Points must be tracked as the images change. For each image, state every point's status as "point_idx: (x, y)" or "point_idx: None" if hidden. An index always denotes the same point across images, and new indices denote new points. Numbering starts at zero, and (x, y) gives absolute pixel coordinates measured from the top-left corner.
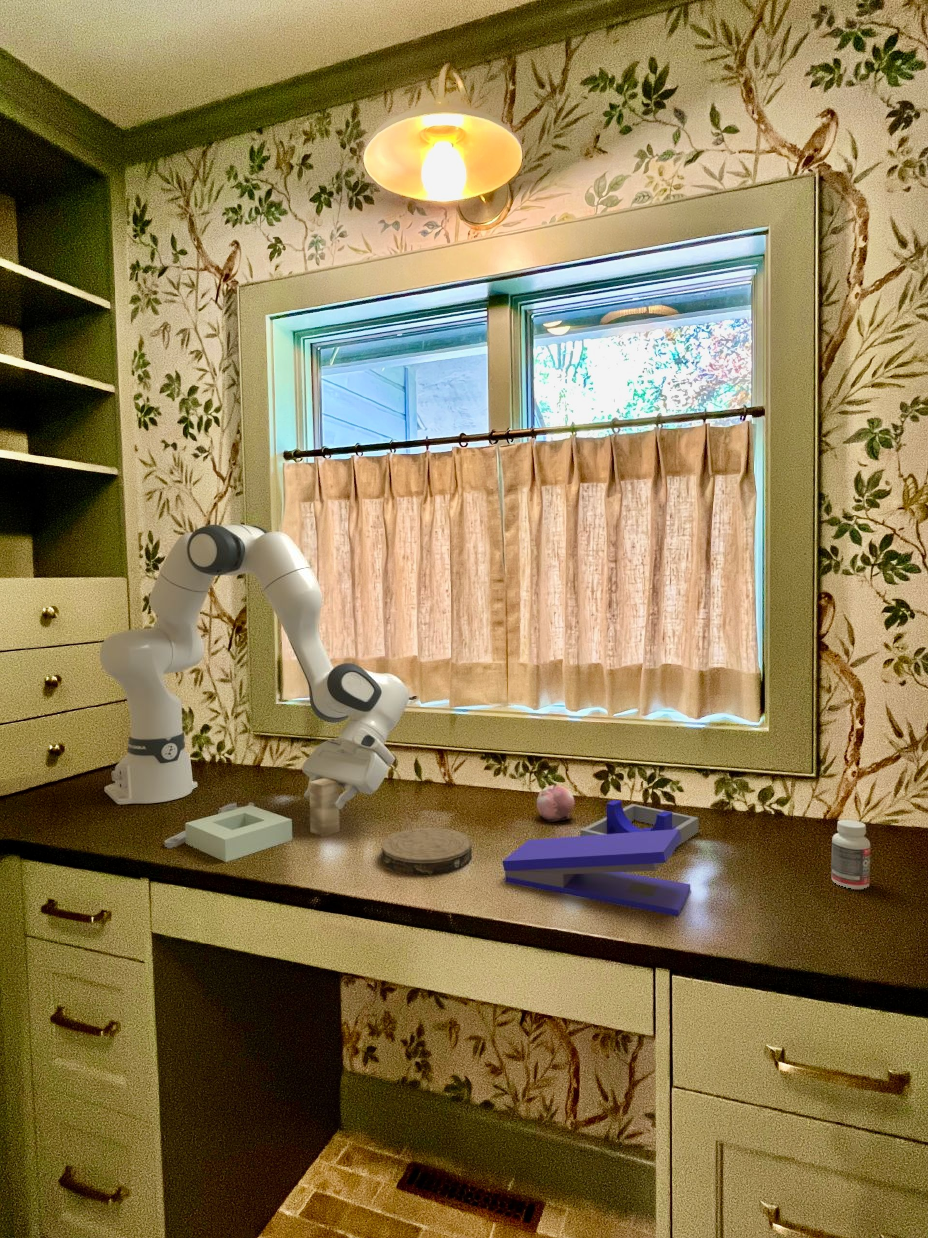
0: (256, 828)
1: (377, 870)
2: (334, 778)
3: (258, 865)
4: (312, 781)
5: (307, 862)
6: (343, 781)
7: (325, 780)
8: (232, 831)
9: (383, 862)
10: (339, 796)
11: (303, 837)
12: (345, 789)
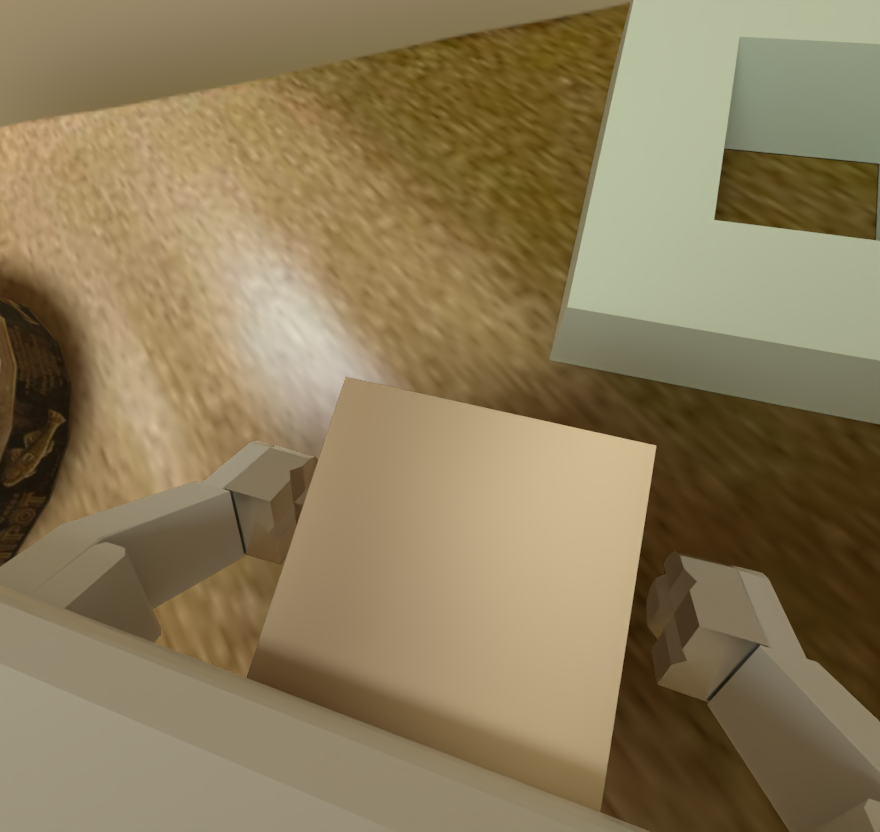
0: (637, 110)
1: (51, 275)
2: (284, 696)
3: (473, 114)
4: (629, 491)
5: (320, 213)
6: (85, 618)
7: (464, 639)
8: (718, 26)
9: (43, 328)
10: (219, 489)
11: None
12: (121, 553)
